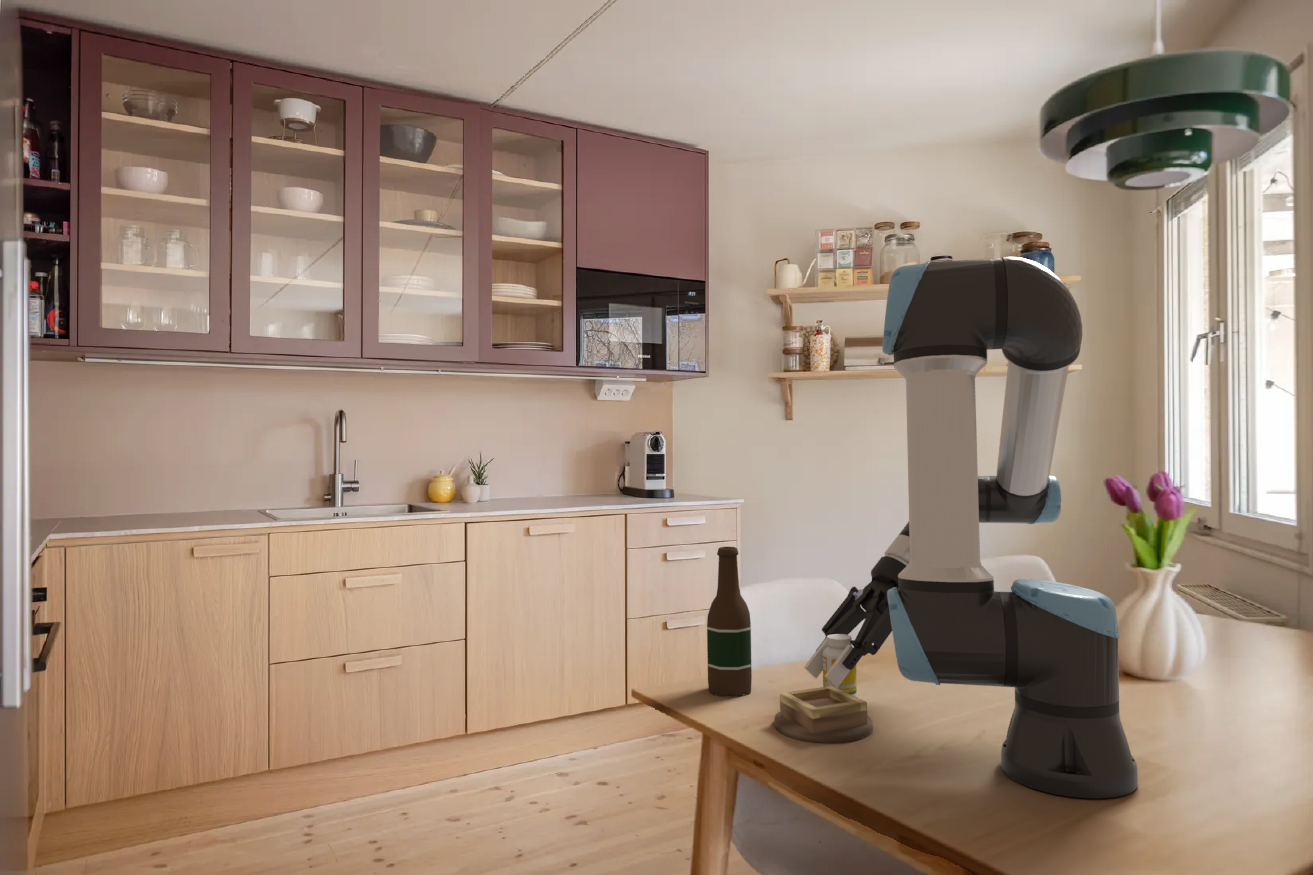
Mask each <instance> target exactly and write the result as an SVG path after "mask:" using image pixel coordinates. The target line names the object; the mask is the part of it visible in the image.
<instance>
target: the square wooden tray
mask: <svg viewBox="0 0 1313 875" xmlns="http://www.w3.org/2000/svg"><path fill="white" fill-rule="evenodd" d="M779 706H780V707H779V712H777V713H775V715H774V728H775V729H776V731H777V732H779V733H780V734H782V735H783V736H786V737H788V738H792V739H795V740H799V741H804V742H809V743H817V744H819V743H820V744H840V743H841V744H843V743H849V742H857V741H858V740H861V739H864V738H865V739H866V738H867V737H869V736H870V735H871V734H872V733H873V728H874V726H873V719H872V718H871V717H870V716H869V715H868V701H866V700H864V699H861V698H859V697H858V696H857V697H856V696H853V695H851V694H848V693H846V692H844V691H842V690H839V689H837V688H835V687H833V686H828V687H823V686H822V687H815V688H814V687H813V688H809V689H808V688H807V689H802V690H794V691H793V690H792V691H787V692H780V693H779Z"/></svg>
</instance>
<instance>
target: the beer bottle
mask: <svg viewBox="0 0 1313 875" xmlns="http://www.w3.org/2000/svg"><path fill="white" fill-rule="evenodd" d="M738 550H739V549H738V548H737V547H735V546H720V547H718V549H717V554H716V556H718V568H717V569H718V571H717V572H718V573H717V590H716V596H715V597H714V598H713V600H712V602H711V605H710V607H709V609H708V610H709V611H708V614H707V623H706V638H707V639H706V642H707V644H706V645H707V649H706V650H707V651H706V652H707V684H708V685H707V687H708V692H709V693H710V694H712V695H715V694H717V695H716V696H718V695H719V697H721V696H739V697H741V696H740V695H743V694H747V695H749V694H748V693H750V694H751V692H752V675H753V674H752V673H753V672H752V628H751V626H752V624H751V621H752V620H751V613H750V610H749V608H748V605H747V602H746V601H745V599H744V598H743V596H742V594H741V589H740V584H739V582H740V581H739V569H738V556H739V551H738ZM743 696H744V695H743Z"/></svg>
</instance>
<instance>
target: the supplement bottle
mask: <svg viewBox="0 0 1313 875" xmlns="http://www.w3.org/2000/svg"><path fill="white" fill-rule="evenodd" d="M850 640H852V636H851V635H849V634H848V635H845V634H831V635H828V636H827V645H828V647H827V648H826V649H825V650H824V651H823V671H822V687H828V686H833V685H832V684H831V683H830V682H829V681H828V680H827V679H826V678H825V677H824V676H825V675H826V673H827V672H828V671H829V669H830V668H831V667H832V665H833V664H834V663H835V661H836V660H837V658H838V657H839V656H840V654H841V653H842V652H843V650H844V649H845V648H846V646H847V645H848V644H849V645H851V646H853V645H852V644H851V643H850ZM833 687H834V686H833ZM835 688H836V687H835ZM857 688H858V687H857V664H856V665H855V667H854V668H853V669H852V670H850V672H849V673H848V674H847V676H846V677H845V678H844V680H843V681H842V682H841V684H840V685H839V687H838V688H837V689H839V690H842V691H844V692H846V693H848V694H851V695H853V696H855V697H856V696H857V690H858V689H857Z"/></svg>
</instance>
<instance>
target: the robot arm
mask: <svg viewBox="0 0 1313 875" xmlns="http://www.w3.org/2000/svg"><path fill="white" fill-rule="evenodd" d="M886 298H887V299H886V304H885V305H886V306H885V315H884V323H883V324H884V325H883V326H884V327H883V337H882V346H881V347H882V348H881V349H882V352H883V354H885V355H888V356H893V368H894V369H895V370H896V371H897V372H898V373H899V374H900V375H902V376H903V377H904V379H905V391H906V392H905V394H906V395H905V397H906V399H905V400H906V401H905V402H906V434H907V435H906V438H907V439H906V440H907V442H906V444H907V447H906V448H907V481H908V482H907V485H908V486H907V487H908V488H907V490H908V522H906V524H905V526H904V527H903V528H902V530H901V531H900V532H899V534H898V535H897V536H896V537H895V539H894V540H893V541H892V542H891V544H890V545H889V546H888V548H887V549H886V550H885V551H884V555H883V556H881V557H880V559H879V560H878V561H877V562H876V563H875V565H874V566H873V567H872V569H871V571H870V576H871V581H870V582H869V583H868V584H866V586H864V588H863V589H858V588H857V587H856V586H852V587H851V588H850V590H849V592H848V594H847V596H846V597H845V599H844V600H843V601H842V603H841V604H840V605H839V607H837V609H836V610H835V611H834V612H833V614H832V615H831V616H830V618H829V619H828V620H827V621H826V623H825V624H824V625H823V626H822V628H821V632H822V633H824V635H825V638H824V639H823V641H821V643H820V644H819V646H818V647H817V648H816V650H815V652H814V653H813V654H812V656H811V657H810V658H809V660H808V661H807V662H806V664H805V665H804V667H803V668H804V670H805V671H807V673H809V675H811V676H812V677H813V679H815V680H817V678H818V677H819V676H820V675H821V673H823V651H824V650H825V649H826V648H827V647H828V645H827V636H828V635H831V634H845V635H849V634H850V633H851V632H853V631H854V630H855V628H857V627H858V626H859V625H860V624H861V623H862V622H863V623H862V625H861V627H860V629H859V631H858V633H857V635H856V638H854V640H850V643H851V644H852V645H849V644H848V645H847V646H846V648H845V649H844V650H843V652H842V653H841V654H840V656H839V657H838V658H837V660H836V661H835V663H834V664H833V665H832V667H831V668H830V669H829V671H828V672H827V673H826V675H825V676H824V677H825V678H826V679H827V680H828V681H829V682H830V683H831V684H832V685H833V686H834V687H836V688H838V687H839V685H840V684H841V682H842V681H843V680H844V678H845V677H846V676H847V674H848V673H849V672H850V670H852V669H853V668H854V667H855V665H856V666H857V664H858V662H859V661H860V660H861V659H862V657H864V656H865V657H866V656H867V655H868V654H870V655H871V656H875V655H876V654H877V653H878V652H879V650H880V649H881V647H882V646H883V644H884V643H885V642H886V640H887V638H888V637H889V636H890V634H891V633H892V638H893V645H894V650H895V658H896V662H897V667H898V671H899V672H900V674H901V675H902V676H903V677H904V678H905V679H906V680H909V681H913V682H919V683H920V682H921V683H929V684H935V685H936V686H941V684H945V685H946V684H947V685H960V686H961V685H965V686H982V687H983V686H984V687H1005V688H1014V709H1013V712H1012V715H1011V718H1010V721H1009V724H1008V727H1007V732H1006V737H1005V740H1004V741H1003V742H1002V745H1001V749H1000V761H1001V762H1000V767H1001V770H1002V771H1003V773H1004V774H1005V775H1006V776H1007V777H1009V778H1010V779H1012V780H1013V781H1015V782H1017V783H1019V784H1021V785H1023V786H1025V787H1028V788H1030V789H1031V788H1032V789H1034V790H1037V791H1041V792H1044V793H1048V794H1052V795H1057V796H1064V797H1070V798H1080V799H1081V798H1082V799H1110V798H1111V799H1112V798H1118V797H1124V796H1126V795H1130V794H1131V793H1132V792H1135V790H1136V789H1137V788H1138V786H1139V783H1138V781H1139V780H1138V779H1139V778H1138V763H1137V762H1136V759H1135V757H1134V756H1133V755H1132V753H1131V749H1130V746H1129V742H1128V739H1127V736H1126V733H1125V730H1124V726H1123V723H1122V721H1121V715H1120V683H1119V682H1120V677H1119V676H1120V675H1119V674H1120V670H1119V668H1120V667H1119V639H1120V638H1121V635H1120V632H1119V626H1118V615H1117V608H1116V606H1115V603H1114V602H1113V600H1112V599H1111V598H1110V597H1109V596H1107V595H1106V594H1103V593H1102V592H1099V591H1096V590H1093V589H1091V588H1085V587H1082V586H1078V585H1074V584H1068V583H1064V582H1057V581H1049V580H1042V579H1033V578H1031V579H1027V578H1026V579H1025V578H1020V579H1015V580H1014V581H1013V582H1012V585H1011V586H1010V590H1011V591H997V590H996V591H995V583H994V582H995V581H994V576H993V574H991V573H990V572H989V571H988V570H987V569H986V568H985V567H984V566H983V565H982V562H981V545H980V540H981V539H980V524H984V523H985V524H986V523H987V524H989V523H991V524H992V523H993V524H1027V525H1034V524H1038V523H1039V524H1041V523H1042V524H1043V523H1053V522H1056V521H1057V520H1058V519H1059V517H1060V515H1061V510H1062V507H1061V506H1062V491H1061V485H1060V482H1059V480H1058V478H1057V477H1056V476H1054V475H1050V474H1051V470H1052V469H1051V468H1052V464H1053V457H1054V451H1055V448H1056V447H1055V446H1056V440H1057V434H1058V428H1059V424H1060V419H1061V418H1060V417H1061V412H1062V406H1063V401H1064V396H1065V390H1066V384H1067V377H1068V371H1069V367H1070V366H1072V365H1073V364H1074V363H1075V362H1076V361H1077V360H1078V358H1079V357H1080V353H1081V346H1082V339H1083V322H1082V316H1081V313H1080V310H1079V307H1078V305H1077V302H1076V300H1075V298H1074V297H1073V295H1072V292H1071V291H1070V290H1069V288H1068V287H1067V286H1066V284H1065V283H1064V282H1063V280H1061V278H1060V277H1058V275H1056V274H1055V273H1054V272H1053V271H1052V270H1051V269H1049V268H1048V267H1046V266H1044V265H1042V264H1041V263H1038V262H1037V261H1034V260H1031V259H1027V258H1024V257H1019V256H1018V257H1017V256H1004V257H1003V256H1002V257H1000V258H999V257H997V258H985V259H982V258H981V259H965V260H945V261H943V260H942V261H926V262H925V263H915V264H909V265H908V264H907V265H902V266H899V267H898V268H896V269H895V270H894V271H893V272H892V273H891V275H890V279H889V285H888V291H887V297H886ZM989 350H990V351H991V350H1001V353H1002V355H1003V357H1004V358H1005V360H1007V361H1008V362H1007V369H1006V371H1007V372H1006V381H1005V390H1004V400H1003V409H1002V417H1001V418H1002V419H1001V428H1000V437H999V447H998V455H997V456H998V457H997V465H996V466H997V467H996V475H979V473H978V440H977V439H978V438H977V437H978V435H977V407H976V406H977V405H976V404H977V403H976V399H977V398H976V377H977V375H978V373H980V372H981V370H982V369H983V368H984V367H985V366H986V365H987V364H988V351H989Z"/></svg>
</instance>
